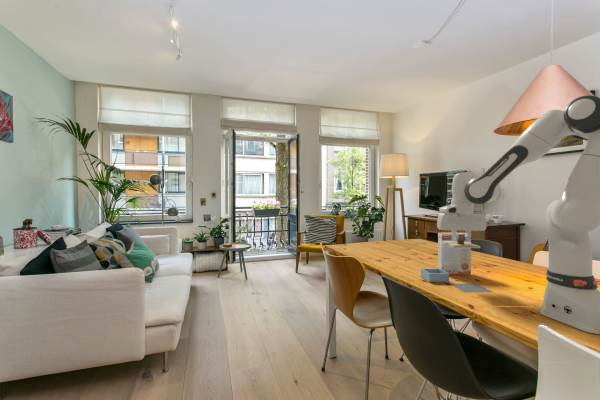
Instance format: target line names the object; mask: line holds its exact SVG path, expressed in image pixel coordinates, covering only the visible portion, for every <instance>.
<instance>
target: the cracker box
mask: <svg viewBox="0 0 600 400" xmlns="http://www.w3.org/2000/svg"><path fill="white" fill-rule="evenodd" d="M458 234H463V235H464V236H465V235H466V232H457V233H456V235H457V236H458ZM442 241H452V242H457V241H455V240H454V236H453V234H452V233H451V232H448V231H447V232H445V231H444V232H438V233H437V259H438V260H437V266H438V267H437V269H441V270H443V271H445V272H447V273H449V276H472V248H454V247H451V246H449V245H446V244H443V243H442ZM464 242H469V243H472V233H471V234H470V236H469V237H468V241H464Z"/></svg>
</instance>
